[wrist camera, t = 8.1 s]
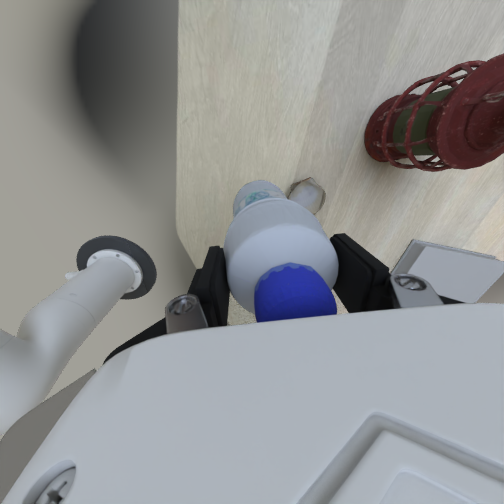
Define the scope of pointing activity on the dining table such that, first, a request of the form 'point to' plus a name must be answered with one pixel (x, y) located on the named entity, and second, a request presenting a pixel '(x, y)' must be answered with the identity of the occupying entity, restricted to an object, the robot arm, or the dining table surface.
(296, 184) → the seashell
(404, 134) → the lantern
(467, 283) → the book
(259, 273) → the bottle
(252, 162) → the dining table surface
